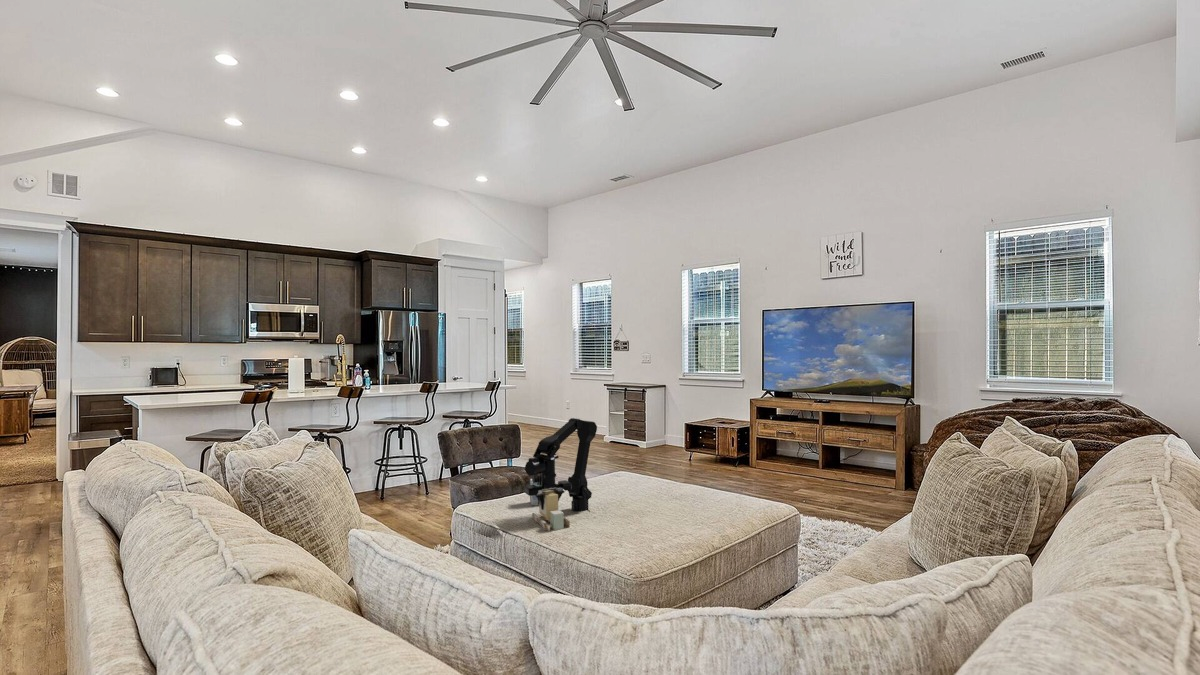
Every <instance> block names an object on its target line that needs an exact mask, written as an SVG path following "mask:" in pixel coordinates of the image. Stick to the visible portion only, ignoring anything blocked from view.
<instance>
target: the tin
mask: <svg viewBox="0 0 1200 675" xmlns="http://www.w3.org/2000/svg"><path fill="white" fill-rule="evenodd" d="M564 515H565V513H564V512H563V511H562V510H561V509H558V510H556V511H550V527H551V528H552V529H554V530H553V531H558V530H564V529H565V528H564V517H565V516H564ZM563 528H564V529H563Z"/></svg>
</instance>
